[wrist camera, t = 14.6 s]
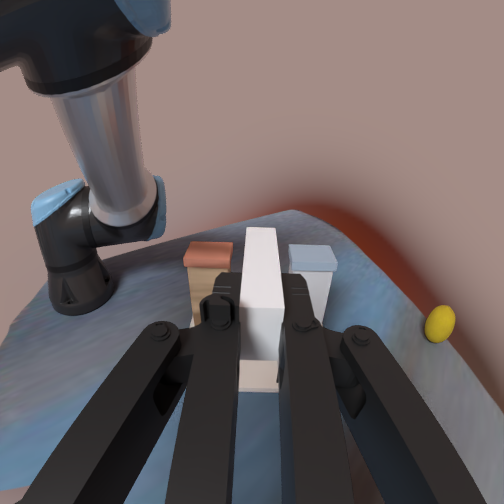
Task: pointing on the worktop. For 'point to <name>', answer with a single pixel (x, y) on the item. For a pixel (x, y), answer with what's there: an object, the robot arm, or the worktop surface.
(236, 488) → the worktop surface
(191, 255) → the beige wooden tall block
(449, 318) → the lemon
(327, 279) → the grey tall block
